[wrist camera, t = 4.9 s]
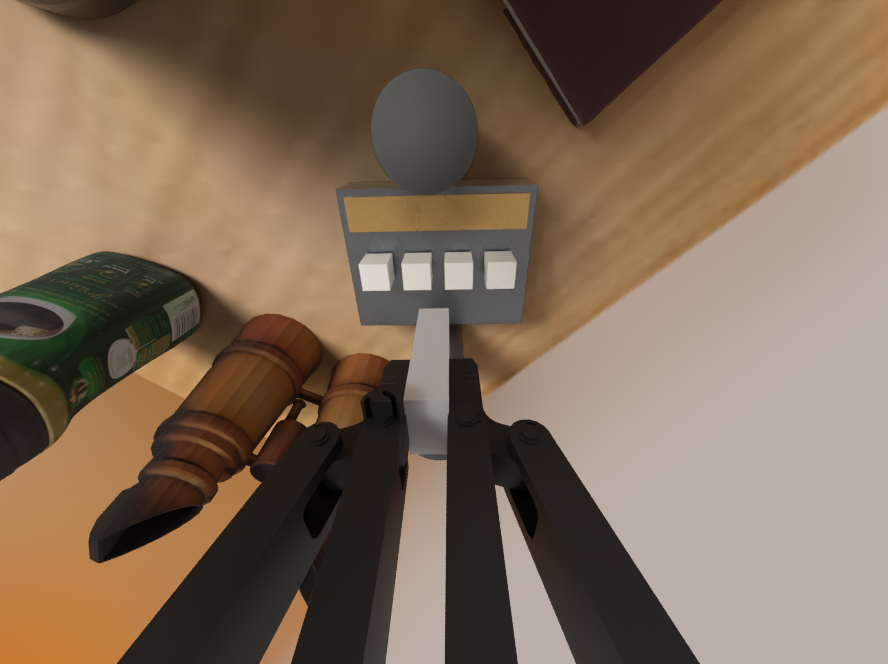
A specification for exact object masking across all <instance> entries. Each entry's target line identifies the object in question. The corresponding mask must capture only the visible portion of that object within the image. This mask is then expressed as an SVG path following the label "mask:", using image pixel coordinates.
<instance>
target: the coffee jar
mask: <svg viewBox="0 0 888 664" xmlns="http://www.w3.org/2000/svg"><path fill="white" fill-rule="evenodd" d="M200 318H201V303H200V300H199V296H198V294H197V292H196V290H195V289H194V287H193V286H192V285H191V283H190V282H189V281H188V280H187V279H186V278H184V277H183V276H181V275H179V274H177V273H175V272H173V271H171V270H168V269H166V268H164V267H161V266H159V265H156V264H154V263H151V262H148V261H145V260H142V259H139V258H135V257H131V256H128V255H124V254H120V253H115V252H97V253H94V254H91V255H88V256H86V257H83V258H81V259H78V260H76V261H73V262H71V263H69V264H67V265H64V266H62V267H60V268H58V269H56V270H54V271H51V272H49V273H47V274H45V275H43V276H41V277H39V278H36V279H34V280H32V281H30V282H27V283H25V284H22V285H20V286H17V287H15V288H13V289H10V290H8V291H5V292H3V293H1V294H0V481H1V480H2V479H4V478H5V477H7V476H9V475H10V474H12V473H13V472H14V471H15V469H17V468H18V467H20V466H22V465H23V464H25V463H27V462H28V461H30V460H31V459H32V458H34V457H35V456H37V455H38V454H40V453H42V452H43V451H44V450H46V449H48V448H49V447H51V446H52V444H54V443H55V442H56V441H57V440H58V439H59V438H60V436H61V435H62V434H63V433H64V431H65V430H66V428H67V426H68V425H69V423H70V421H71V419H72V418H73V417H74V415H76V414H77V413H78V412H79V411H80V410H81V409H82V408H83V407H85V406H86V405H87V404H88V403H90V402H91V401H92V400H94V399H95V398H96V397H97V396H99V395H101V394H102V393H103V392H105V391H106V390H107V389H109V388H111V387H112V386H114V385H115V384H116V383H118V382H120V381H121V380H123V379H124V378H125V377H127V376H129V375H130V374H132V373H133V372H135V371H136V370H138V369H139V368H141V367H142V366H144V365H146V364H147V363H149V362H150V361H152V360H154V359H155V358H157V357H159V356H160V355H162V354H163V353H165V352H167V351H169V350H170V349H172V348H173V347H175V346H176V345H178V344H179V343H181V342H182V341H184V340H185V339H186V338H188V337H189V336H191V335H192V334H193V333H194V332H195V331H196V330H197V328H198V326H199V323H200Z"/></svg>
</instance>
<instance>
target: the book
mask: <svg viewBox="0 0 888 664" xmlns="http://www.w3.org/2000/svg"><path fill="white" fill-rule="evenodd" d="M503 1H504V3H505V5H506V6H507V9H504V10H503V12H504V13H505V15H506V17H507V18H508V20H509V22H510V23H511V25H512V26H513V28H514V30H515V31H516V33H517V35H518V37H519V39H520V41H521V42H522V44H523V46H524V47H525V49H526V50H527V52H528V53H529V55H530V57H531V59H532V61H533V62H534V64H535V66H536V67H537V69H538V70H539V72H540V73H541V74H542V76H543V77H544V79H545V81H546V83H547V85H548V86H549V88H550V90H551V92H552V93H553V95H554V97H555V98H556V100H557V101H558V103H559V104H560V106H561V107H562V109H563V110H564V112H565V114H566V115H567V117H568V118H569V120H570V121H571V123H572V124H573V125H574V126H575V127H578V126H581V124H582V125H583V126H584V125H585V124H587V123H589V122H590V121H592V120H593V119H594V118H595V117H596V116H597V115H598V114H599V113H600V112H601V111H602V110H603V109H604V108H605V107H606V106H607V105H609V104H610V103H611V102H612V101H613V100H614V99H615V98H616V97H617V96H619V95H620V94H621V93H622V92H623V91H624V90H625V89H626V88H627V87H628V86H629V85H630V84H632V83H633V82H634V81H635V80H636V79H637V78H638V77H639V76H640V75H641V74H642V73H644V72H645V71H646V70H647V69H648V68H649V67H650V66H651V65H652V64H653V63H654V62H655V61H657V60H658V59H659V58H660V57H661V56H662V55H663V54H664V53H665V52H666V51H668V50H669V49H670V48H671V47H672V46H673V45H674V44H675V43H676V42H678V41H679V40H680V39H681V38H682V37H683V36H684V35H685V34H687V33H688V32H689V31H690V30H691V29H692V28H693V27H694V26H695V25H696V24H698V23H699V22H700V21H701V20H702V19H703V18H704V17H705V16H706V15H707V14H708V13H709V12H711V11H712V10H713V9H714V8H715V7H716V6H717V5H718V4H719V3H720V2H721V1H722V0H503Z"/></svg>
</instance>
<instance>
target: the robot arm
mask: <svg viewBox="0 0 888 664" xmlns="http://www.w3.org/2000/svg"><path fill="white" fill-rule="evenodd" d="M17 1H19V2H22V3H25V4H29V5H32V6H35V7H38V8H41V9H45V10H48V11H51V12H54V13H58V14H61V15H65V16H70V17H76V18H99V17H104V16H108V15H111V14H114V13H116V12H118V11H120V10H122V9H123V8H125V7H126V6H128V5H129V4H130V3H131V2H133V1H134V0H17ZM360 404H361V409H362V413H363V418H364V420H363V421H361V422H360V423H358V424H355V425H352V426H349V427H345V428H341V429H339V428H338V426H337V425H336V424H334V423H332V422H319V423H315V424H313V425H311V426H309V427H308V428H306V429H305V430H304V431H303V432H302V433H301V434H300V435H299V437H298V438H297V439H296V440H295V442H294V443H293V444H292V445H291V447H290V448H289V449H288V450H287V452H286V453H285V454H284V455H283V457H282V458H281V459H280V460H279V462H278V463H277V464H276V465H275V467H274V468H273V469H272V470H271V472H270V473H269V474H268V475H267V477H266V478H265V479H264V480H263V482H262V483H261V484H260V485H259V487H258V488H257V489H256V490H255V492H254V493H253V494H252V495H251V497H250V498H249V499H248V500H247V502H246V503H245V504H244V505H243V507H242V508H241V509H240V510H239V512H238V513H237V514H236V515H235V517H234V518H233V519H232V520H231V522H230V523H229V524H228V526H227V527H226V528H225V529H224V530H223V532H222V533H221V534H220V535H219V537H218V538H217V539H216V540H215V542H214V543H213V544H212V545H211V547H210V548H209V549H208V550H207V552H206V553H205V554H204V555H203V557H202V558H201V559H200V560H199V562H198V563H197V564H196V565H195V567H194V568H193V569H192V570H191V572H190V573H189V574H188V575H187V577H186V578H185V579H184V580H183V582H182V583H181V584H180V585H179V587H178V588H177V589H176V590H175V592H174V593H173V594H172V595H171V597H170V598H169V599H168V600H167V602H166V603H165V604H164V605H163V607H162V608H161V609H160V610H159V612H158V613H157V614H156V615H155V617H154V618H153V619H152V620H151V622H150V623H149V624H148V625H147V627H146V628H145V629H144V630H143V632H142V633H141V634H140V635H139V637H138V638H137V639H136V640H135V642H134V643H133V644H132V645H131V647H130V648H129V649H128V650H127V652H126V653H125V654H124V655H123V657H122V658H121V659H120V660H119V662H118V663H117V664H259V663H260V661H261V659H262V657H263V655H264V653H265V652H266V650H267V648H268V646H269V644H270V642H271V640H272V639H273V637H274V635H275V633H276V631H277V629H278V627H279V625H280V623H281V622H282V620H283V618H284V616H285V614H286V612H287V610H288V608H289V607H290V604H291V602H292V600H293V599H294V597H295V595H296V593H297V591H298V590H299V588H300V586H301V584H302V582H303V580H304V578H305V576H306V575H307V573H308V571H309V569H310V567H311V565H312V563H313V561H314V559H315V558H316V556H317V554H318V552H319V550H320V548H321V546H322V544H323V542H324V541H325V539H326V537H327V535H328V533H329V531H330V529H331V532H330V535H329V538H328V542H327V545H326V548H325V552H324V555H323V558H322V562H321V565H320V568H319V572H318V575H317V578H316V582H315V585H314V589H313V592H312V595H311V599H310V602H309V605H308V609H307V612H306V615H305V619H304V622H303V626H302V629H301V632H300V635H299V639H298V642H297V645H296V649H295V652H294V655H293V659H292V662H291V664H385V662H386V653H387V645H388V635H389V628H390V620H391V611H392V603H393V594H394V586H395V578H396V570H397V561H398V553H399V544H400V536H401V528H402V519H403V510H404V503H405V494H406V485H407V477H408V468H409V467H408V451H409V452H410V454H447V503H446V505H447V508H446V512H447V513H446V603H445V607H446V608H445V609H446V612H445V664H518V662H517V654H516V647H515V638H514V630H513V623H512V616H511V607H510V599H509V591H508V584H507V576H506V569H505V560H504V553H503V545H502V537H501V530H500V522H499V514H498V506H497V498H496V490H495V484H496V485H499V486H502V487H504V490H505V493H506V495H507V497H508V500H509V502H510V505H511V507H512V510H513V512H514V514H515V517H516V519H517V521H518V524H519V527H520V528H521V531H522V533H523V536H524V539H525V541H526V543H527V545H528V548H529V550H530V553H531V556H532V558H533V560H534V563H535V565H536V568H537V570H538V572H539V575H540V577H541V580H542V582H543V585H544V587H545V589H546V592H547V594H548V597H549V599H550V601H551V604H552V606H553V609H554V611H555V614H556V616H557V618H558V621H559V623H560V625H561V628H562V630H563V633H564V635H565V638H566V640H567V642H568V645H569V647H570V650H571V652H572V655H573V657H574V659H575V662H576V664H700V663H699V662H698V660H697V659H696V657H695V656H694V654H693V653H692V651H691V649H690V648H689V646H688V645H687V643H686V642H685V640H684V639H683V637H682V636H681V634H680V632H679V631H678V630H677V628H676V626H675V625H674V623H673V622H672V620H671V619H670V617H669V616H668V614H667V612H666V611H665V609H664V608H663V606H662V605H661V603H660V602H659V600H658V599H657V597H656V595H655V594H654V593H653V591H652V589H651V588H650V586H649V585H648V583H647V582H646V580H645V579H644V577H643V576H642V574H641V572H640V571H639V569H638V568H637V566H636V565H635V563H634V562H633V560H632V559H631V557H630V555H629V554H628V552H627V551H626V550H625V548H624V546H623V545H622V543H621V542H620V540H619V539H618V537H617V535H616V534H615V532H614V531H613V529H612V528H611V526H610V525H609V523H608V522H607V520H606V519H605V517H604V515H603V514H602V512H601V511H600V509H599V508H598V506H597V505H596V503H595V502H594V500H593V498H592V497H591V495H590V494H589V492H588V491H587V489H586V488H585V486H584V485H583V483H582V482H581V480H580V479H579V477H578V475H577V474H576V472H575V471H574V469H573V468H572V466H571V465H570V463H569V462H568V460H567V458H566V457H565V455H564V454H563V452H562V451H561V449H560V448H559V446H558V445H557V443H556V442H555V440H554V438H553V437H552V435H551V434H550V432H549V431H548V430H547V429H546V428H545V427H544V426H543V425H541V424H540V423H538V422H536V421H532V420H519V421H517V422H514V423H513V424H512V425H511V426H507V425H504V424H500V423H497V422H495V421H493V420H492V419H490V418H489V417H488V416H487V415H486V414H485V412H484V410H483V405H482V397H481V389H480V383H479V373H478V366H477V364H476V363H475V362H474V360H473V359H472V358H458V359H450V349H449V308H436V309H419V313H418V319H417V324H416V330H415V336H414V341H413V347H412V353H411V359H410V360H391V361H390V362H389V363H388V364H387V365H386V366H385V367H384V370H383V374H382V378H381V381H380V385H379V388H378V389H375V390H373V391H370V392H368V393H367V394H366V395H365V396H363V398H362V399H361V401H360ZM331 527H332V528H331Z"/></svg>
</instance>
